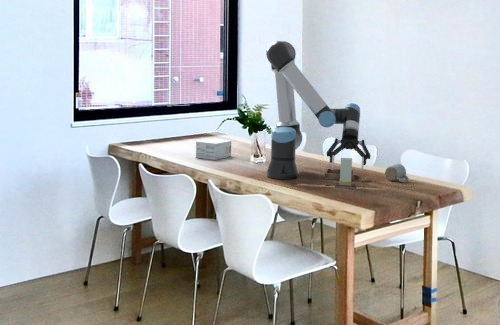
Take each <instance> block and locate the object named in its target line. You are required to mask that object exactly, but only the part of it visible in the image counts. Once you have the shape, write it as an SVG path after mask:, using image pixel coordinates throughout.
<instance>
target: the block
mask: <svg viewBox="0 0 500 325" xmlns="http://www.w3.org/2000/svg"><path fill="white" fill-rule="evenodd" d="M352 164H353V158H352V157H341V158H340V168H339V169H340V180H339V182H338V183H339V184H338V185H339V186H352V180H351V171H352V170H353V168H352V167H353V165H352Z"/></svg>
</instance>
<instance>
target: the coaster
mask: <svg viewBox="0 0 500 325" xmlns="http://www.w3.org/2000/svg"><path fill="white" fill-rule="evenodd" d="M334 188H336V189H337V188H338V189H350V190H351V189H353V190H354V189H355V190H356V186H355V185H351V186H350V185H344V186H339V184H334Z"/></svg>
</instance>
